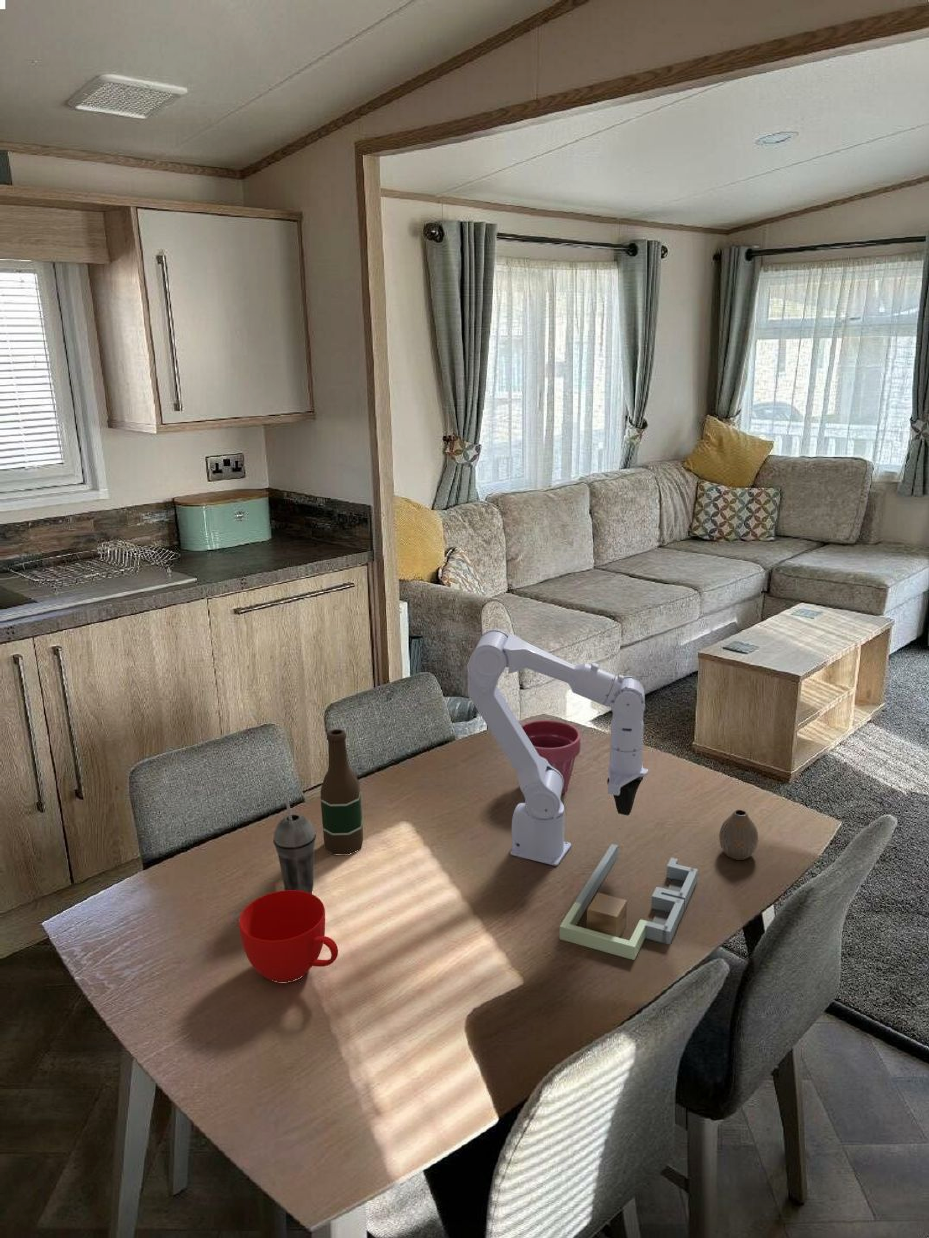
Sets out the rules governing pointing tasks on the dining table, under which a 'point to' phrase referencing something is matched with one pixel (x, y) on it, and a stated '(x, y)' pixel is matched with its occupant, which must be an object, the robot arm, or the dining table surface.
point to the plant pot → (555, 744)
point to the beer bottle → (340, 800)
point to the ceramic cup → (285, 934)
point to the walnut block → (607, 915)
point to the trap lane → (659, 929)
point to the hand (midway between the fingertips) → (624, 812)
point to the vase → (738, 836)
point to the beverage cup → (295, 851)
